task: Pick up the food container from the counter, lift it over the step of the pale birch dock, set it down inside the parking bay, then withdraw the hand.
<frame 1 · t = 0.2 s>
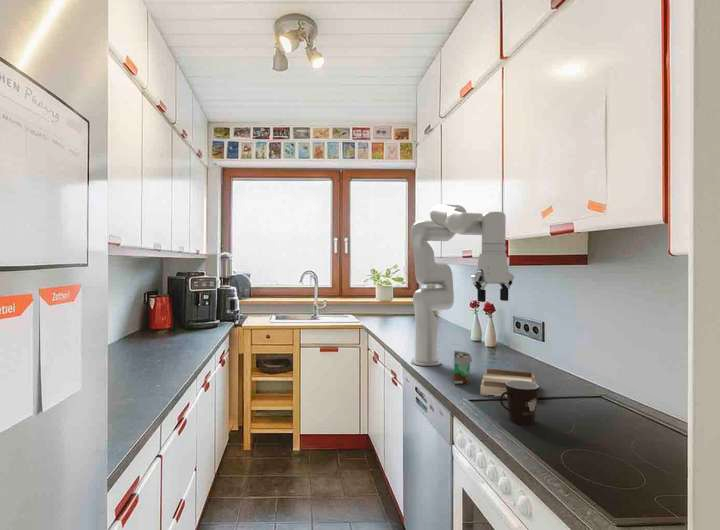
hand: (493, 301, 150), 30 cm above the countertop, tool pointing down, fingers open, 9 cm apart
dock: (508, 389, 153), on the countertop
coffee mug: (516, 421, 124), on the countertop
food container: (463, 382, 162), on the countertop
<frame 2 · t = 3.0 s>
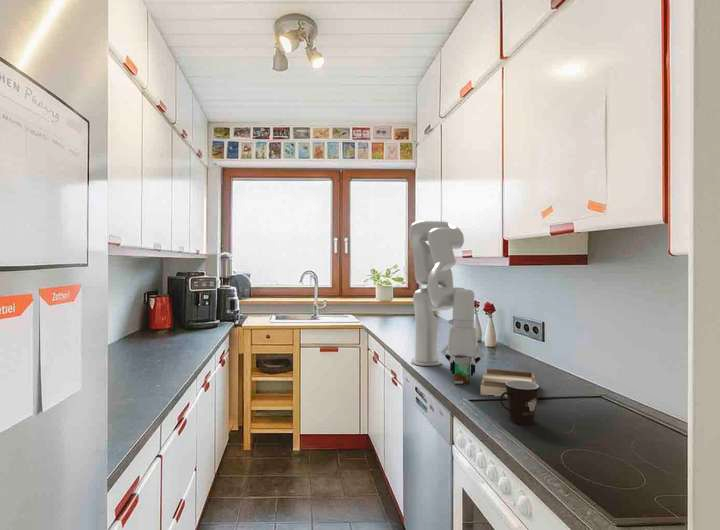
hand: (462, 373, 162), 3 cm above the countertop, tool pointing down, fingers closed on food container, 5 cm apart
food container: (463, 383, 162), on the countertop, touching gripper
everything else where it was.
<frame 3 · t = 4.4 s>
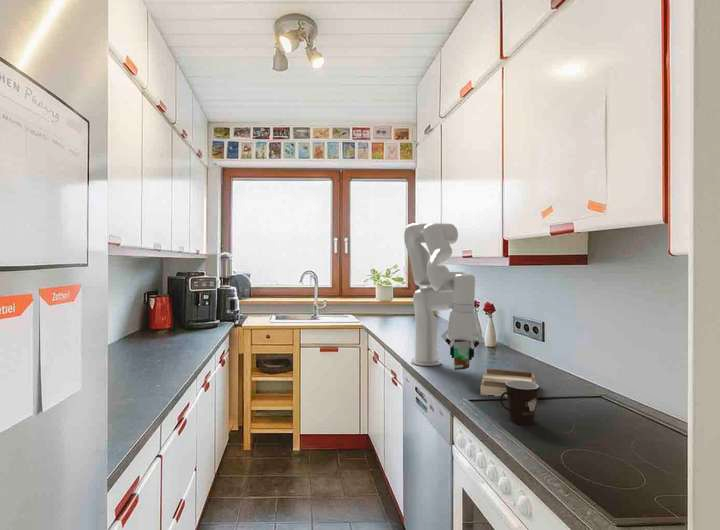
hand: (461, 357, 163), 9 cm above the countertop, tool pointing down, fingers closed on food container, 5 cm apart
food container: (463, 367, 163), point 5 cm above the countertop, touching gripper
everything else where it was.
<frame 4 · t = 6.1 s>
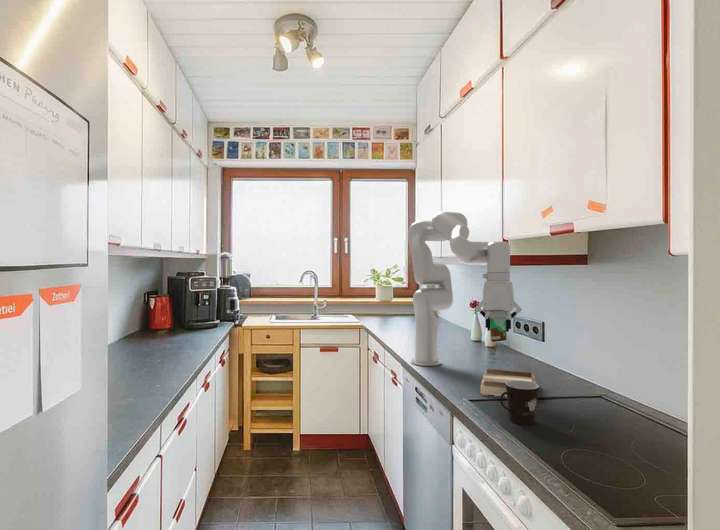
hand: (498, 330, 155), 20 cm above the countertop, tool pointing down, fingers closed on food container, 5 cm apart
food container: (500, 339, 154), point 17 cm above the countertop, touching gripper
everything else where it was.
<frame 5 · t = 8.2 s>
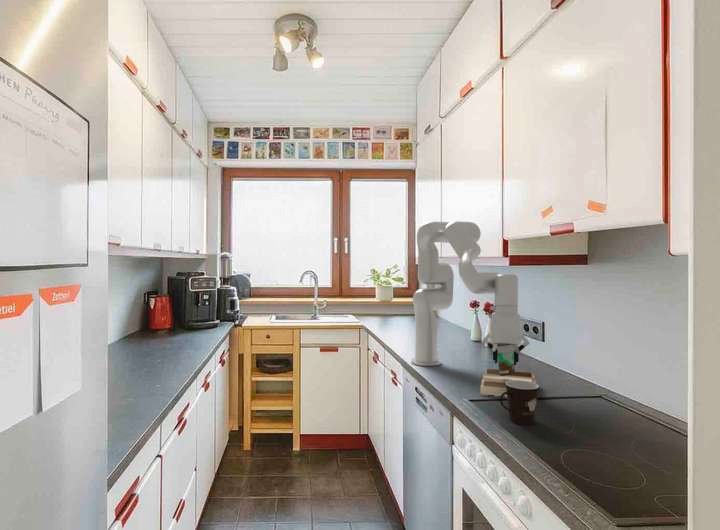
hand: (505, 362, 154), 9 cm above the countertop, tool pointing down, fingers closed on food container, 5 cm apart
food container: (508, 372, 153), point 6 cm above the countertop, touching gripper
everything else where it was.
when the fingers open (7 cm above the countertop, at t = 9.4 s): food container drops 1 cm, resting on dock.
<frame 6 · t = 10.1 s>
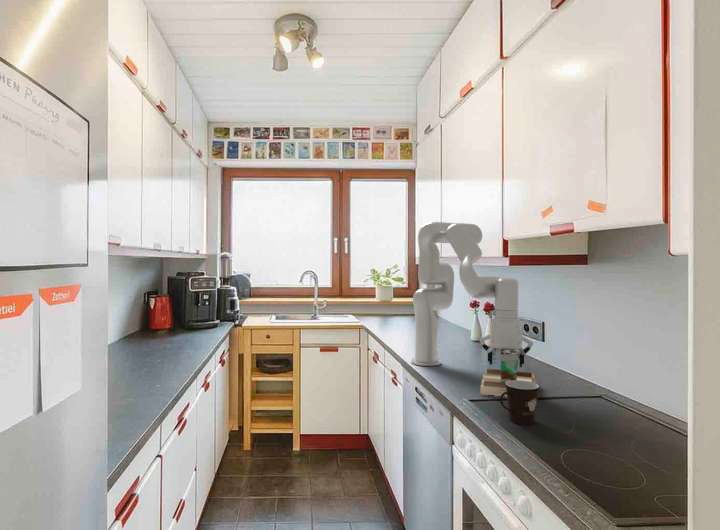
hand: (505, 365, 154), 8 cm above the countertop, tool pointing down, fingers open, 9 cm apart
food container: (510, 381, 153), point 3 cm above the countertop, touching dock
everything else where it was.
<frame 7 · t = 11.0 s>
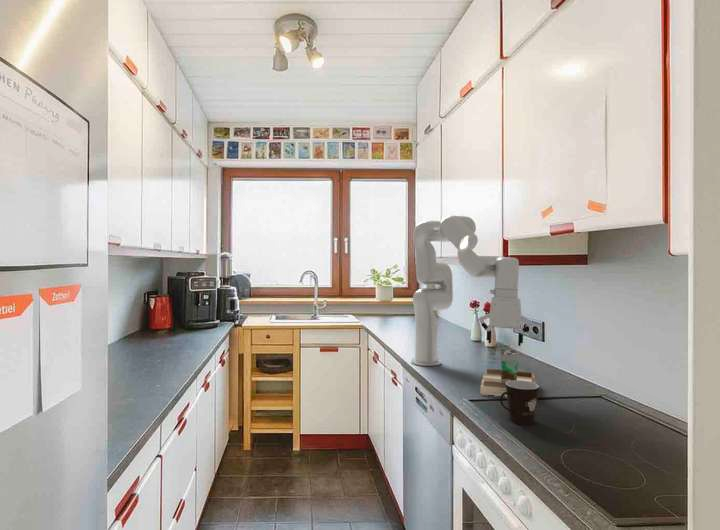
hand: (504, 343, 154), 15 cm above the countertop, tool pointing down, fingers open, 9 cm apart
nothing on the countertop moved.
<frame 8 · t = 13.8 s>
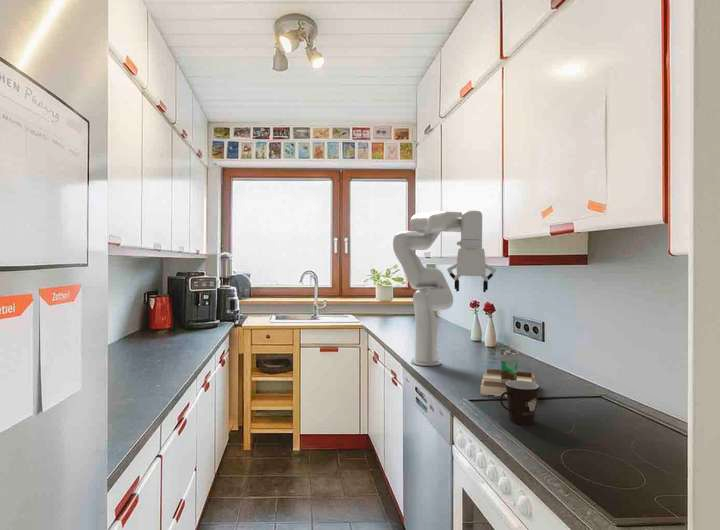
hand: (470, 291, 166), 32 cm above the countertop, tool pointing down, fingers open, 9 cm apart
nothing on the countertop moved.
at the end: food container inside the target area on the dock (1.7 cm from its centre), point 2.8 cm above the dock's base; food container tilted 0°; the gripper is holding nothing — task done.
